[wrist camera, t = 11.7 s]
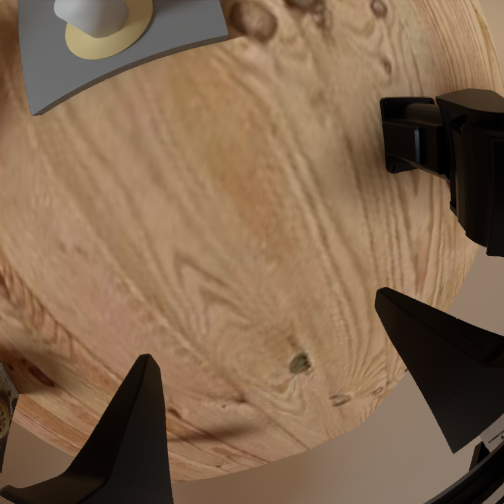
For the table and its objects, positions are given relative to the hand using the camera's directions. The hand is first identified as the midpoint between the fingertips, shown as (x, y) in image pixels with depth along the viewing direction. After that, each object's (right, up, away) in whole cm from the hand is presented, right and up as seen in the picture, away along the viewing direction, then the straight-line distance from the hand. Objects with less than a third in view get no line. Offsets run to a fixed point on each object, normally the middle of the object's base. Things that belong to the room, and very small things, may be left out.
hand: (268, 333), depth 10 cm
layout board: (-11, +23, -1) cm, 26 cm away
